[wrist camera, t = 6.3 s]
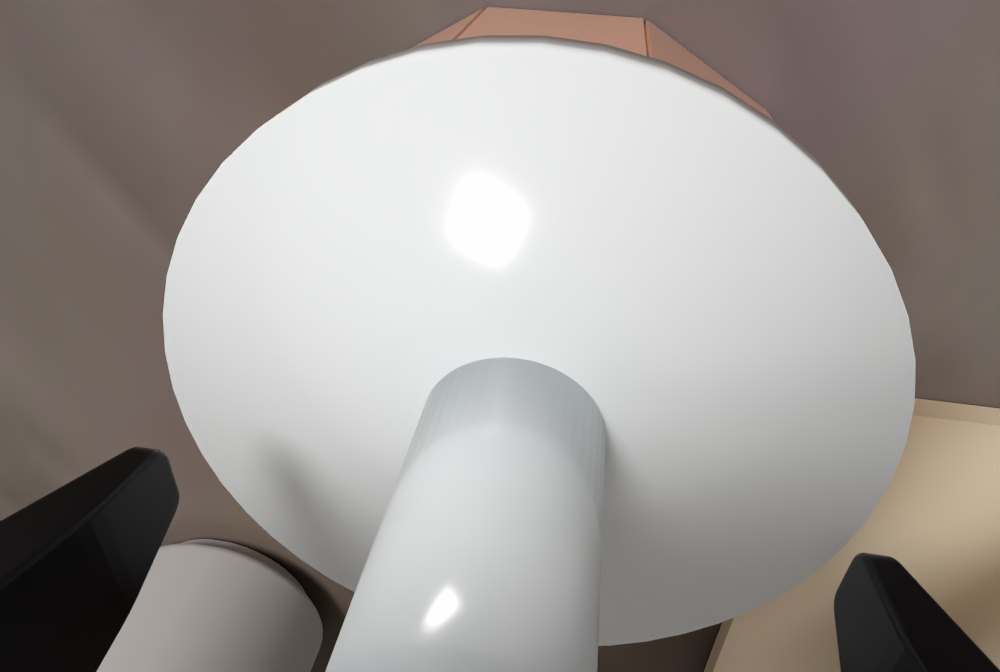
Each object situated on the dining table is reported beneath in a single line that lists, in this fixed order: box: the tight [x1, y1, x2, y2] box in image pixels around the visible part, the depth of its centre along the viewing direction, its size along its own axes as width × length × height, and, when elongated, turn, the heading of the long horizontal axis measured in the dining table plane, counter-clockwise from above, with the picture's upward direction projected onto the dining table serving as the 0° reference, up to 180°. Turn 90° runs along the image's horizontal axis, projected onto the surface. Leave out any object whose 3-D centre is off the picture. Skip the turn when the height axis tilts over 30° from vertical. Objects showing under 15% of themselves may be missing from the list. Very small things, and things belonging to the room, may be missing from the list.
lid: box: [163, 35, 916, 672], centre depth 9 cm, size 11×11×5 cm
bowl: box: [412, 7, 772, 119], centre depth 13 cm, size 10×10×4 cm
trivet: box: [704, 398, 1000, 672], centre depth 18 cm, size 12×12×1 cm
